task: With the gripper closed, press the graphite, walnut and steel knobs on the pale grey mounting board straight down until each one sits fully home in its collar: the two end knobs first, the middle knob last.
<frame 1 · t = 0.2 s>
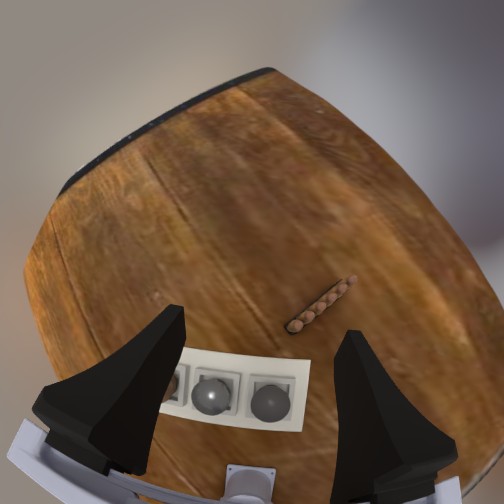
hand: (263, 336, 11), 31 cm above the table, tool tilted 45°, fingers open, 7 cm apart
knob steel: (212, 395, 34), point 5 cm above the table, slide at 2.0 cm
knob walnut: (159, 384, 34), point 5 cm above the table, slide at 2.0 cm
mount board: (219, 388, 39), on the table
knob graphite: (270, 402, 33), point 5 cm above the table, slide at 2.0 cm
ammunition clip: (313, 309, 42), on the table
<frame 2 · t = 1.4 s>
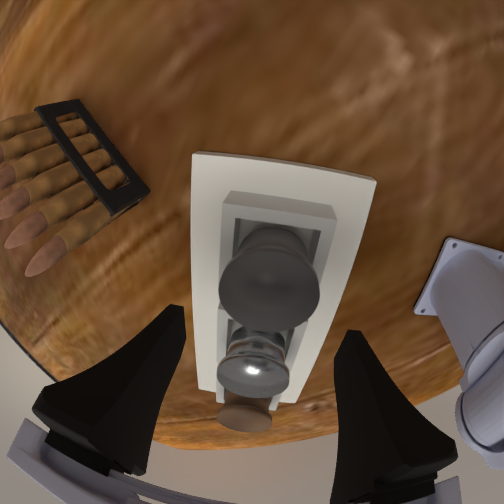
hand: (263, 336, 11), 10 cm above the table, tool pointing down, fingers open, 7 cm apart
knob steel: (255, 361, 19), point 5 cm above the table, slide at 2.0 cm
knob walnut: (246, 406, 23), point 5 cm above the table, slide at 2.0 cm
mount board: (261, 314, 24), on the table
knob graphite: (270, 276, 15), point 5 cm above the table, slide at 2.0 cm
ammunition clip: (105, 148, 18), on the table
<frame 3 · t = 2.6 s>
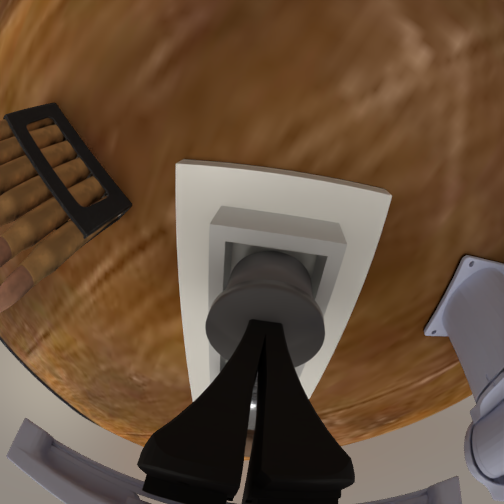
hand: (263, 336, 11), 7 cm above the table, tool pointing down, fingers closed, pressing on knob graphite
knob steel: (251, 392, 17), point 5 cm above the table, slide at 2.0 cm
knob walnut: (242, 431, 21), point 5 cm above the table, slide at 2.0 cm
mount board: (259, 338, 22), on the table
knob graphite: (267, 309, 13), point 5 cm above the table, slide at 1.9 cm, touching gripper
ammunition clip: (83, 157, 16), on the table
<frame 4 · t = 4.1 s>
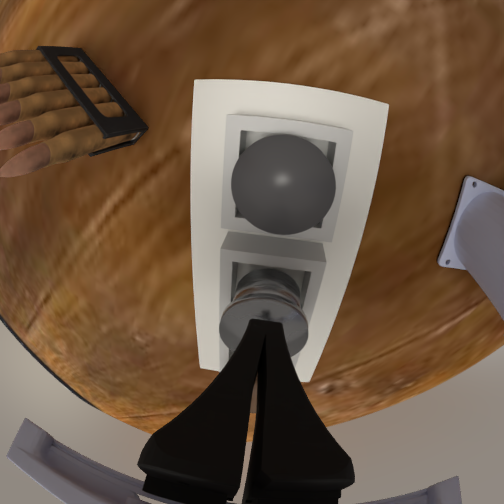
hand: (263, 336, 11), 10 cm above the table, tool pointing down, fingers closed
knob steel: (265, 314, 17), point 5 cm above the table, slide at 2.0 cm
knob walnut: (254, 381, 21), point 5 cm above the table, slide at 2.0 cm
mount board: (271, 267, 21), on the table
knob graphite: (283, 178, 15), point 3 cm above the table, slide at -0.2 cm
ammunition clip: (104, 91, 16), on the table
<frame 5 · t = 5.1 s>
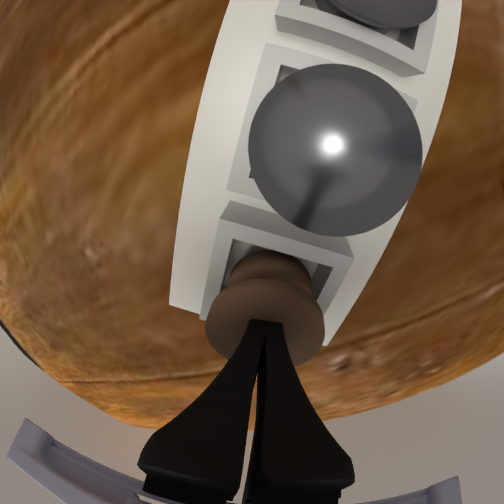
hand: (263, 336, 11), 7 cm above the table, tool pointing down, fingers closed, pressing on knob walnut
knob steel: (331, 144, 8), point 5 cm above the table, slide at 2.0 cm
knob walnut: (267, 308, 13), point 5 cm above the table, slide at 1.5 cm, touching gripper
mount board: (315, 131, 13), on the table
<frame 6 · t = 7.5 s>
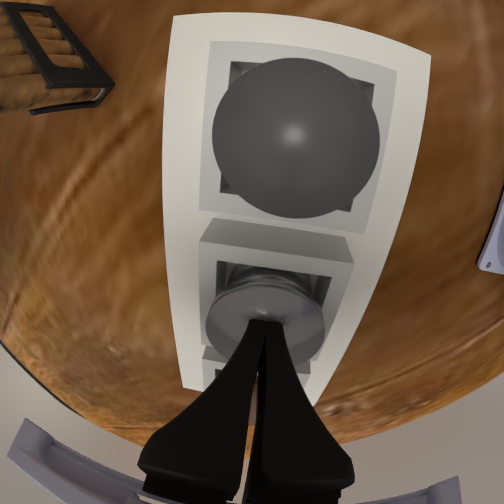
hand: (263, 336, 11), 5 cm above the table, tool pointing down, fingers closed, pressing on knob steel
knob steel: (267, 308, 13), point 3 cm above the table, slide at 0.1 cm, touching gripper
knob walnut: (251, 388, 17), point 3 cm above the table, slide at -0.2 cm
mount board: (271, 269, 16), on the table
knob graphite: (295, 134, 9), point 3 cm above the table, slide at -0.2 cm
ammunition clip: (70, 48, 10), on the table
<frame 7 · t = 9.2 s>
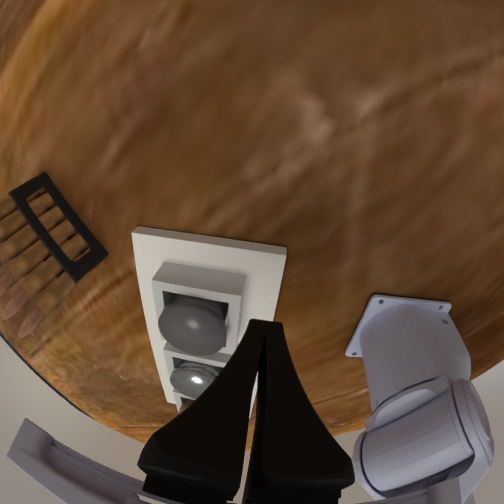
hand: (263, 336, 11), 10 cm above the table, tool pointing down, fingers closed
knob steel: (200, 372, 25), point 3 cm above the table, slide at -0.2 cm
knob walnut: (203, 406, 29), point 3 cm above the table, slide at -0.2 cm
mount board: (207, 349, 27), on the table
knob graphite: (197, 316, 21), point 3 cm above the table, slide at -0.2 cm
ammunition clip: (71, 216, 22), on the table
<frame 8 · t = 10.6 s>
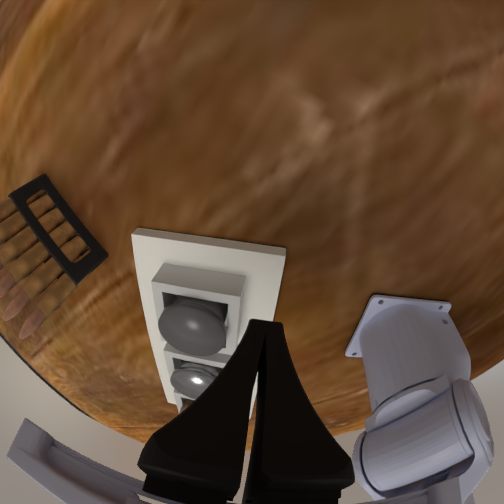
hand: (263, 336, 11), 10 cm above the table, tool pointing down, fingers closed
knob steel: (200, 373, 25), point 3 cm above the table, slide at -0.2 cm
knob walnut: (203, 407, 29), point 3 cm above the table, slide at -0.2 cm
mount board: (207, 349, 28), on the table
knob graphite: (196, 317, 21), point 3 cm above the table, slide at -0.2 cm
ammunition clip: (71, 217, 22), on the table
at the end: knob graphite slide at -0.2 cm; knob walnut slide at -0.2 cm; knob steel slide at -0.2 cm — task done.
